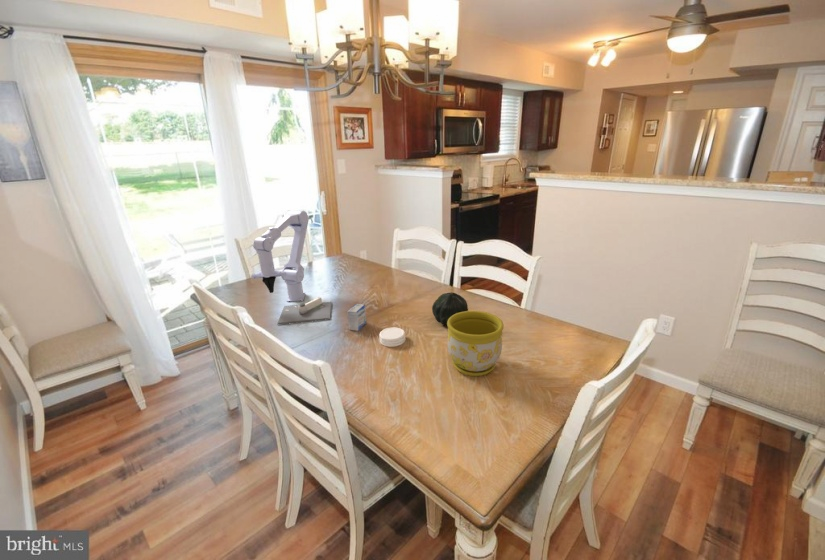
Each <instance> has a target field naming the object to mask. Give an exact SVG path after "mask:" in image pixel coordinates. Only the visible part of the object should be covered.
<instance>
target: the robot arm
mask: <svg viewBox="0 0 825 560" xmlns="http://www.w3.org/2000/svg"><path fill="white" fill-rule="evenodd" d="M309 219H310V217H309V215H308V213H307V212H306V211H305V210H287V211H285V212H284V213H283V217H282V218H281V219H280V221H279V222H278V223H277V224H276V225H275V226H272V227H270V226H269V228H268V230H267V231H265V233H263V234H261V236H260V237H256V238H255V239H254V241H253V245H252V247H253V249H254V250H255V252H256V254H257V256H258V260H259V267H260V272H257V273H252V274H251V275H250V277H251V280H254V279H262V282H263V284H264V285H265V286H266V287H267V289H268V292H269V294H273V293H274V289H275V288H274V287H275V283H276V282H275V281H276V279H277V277H281V279H282V281H284V283H285V284H286V290H287V296H288V297H287V299H286V302H289V301H290V302H298V301H299V302H300V300H301V301H304V300H305V295H306V292H304V289H303V280H304V278H305V271H304V270H305V268H304V266H303V265H302V264H301V261H302V257H303V251H304V245H305V241H306V235H307V230H308V229H307V228H308V226H309ZM288 227H290V228H291V229H293V230H294V234H293V240H292V245H291V249H290V254H289V261H288V262H287V263H285V264H284V265H283V269H282V270H276V269H275V264H274V258H273V252H272V250H273V248H274V245H275V243H276V242H277V241H278V239H279V238H281V237H282V233H283V231H284V230H286V229H287V228H288Z"/></svg>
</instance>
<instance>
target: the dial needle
mask: <svg viewBox="0 0 825 560" xmlns="http://www.w3.org/2000/svg"><path fill="white" fill-rule="evenodd" d="M322 302H323V300H322V297H320V296H319V297H317V298H315V299H312V300H310V301H309V302H306V303H300V304H297V305H298V311H299V314H306V313H307V312H308V310H310V309H312V308H314V307H316V306H318V305H320V304H322Z"/></svg>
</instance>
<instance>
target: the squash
mask: <svg viewBox="0 0 825 560" xmlns="http://www.w3.org/2000/svg"><path fill="white" fill-rule="evenodd" d="M431 311H432V315H433V316H434V318H435V320H436V322H438V323H441V324H443V325H445V324H446V325H447V321H448V319H449V318H450V317H451V316H452V315H454V314H456V313H459V312H464V311H469V308H468V301H466V299H465V298H464V297H463V296H462V295H460V294H457V293H455V292H447V293H442V294H441V295H439V296H438V298H436V299H435V300H434V302H433V304H432V306H431Z"/></svg>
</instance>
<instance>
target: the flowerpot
mask: <svg viewBox="0 0 825 560" xmlns="http://www.w3.org/2000/svg"><path fill="white" fill-rule="evenodd" d="M446 326H447V332H448V335H447V351H448V353H449V357H450V358H451V360H452V365H453V367H455V369H456V370H457V371H458V372H460V373H461V374H463V375H466V376H469V377H481V376H486V375H488V374H489V373H491V372H492V371H493V370H494V369H495V367H496V363H497V362H498V360H499V359H500V356H501V354H502V350H503V339H502V338H503V337H502V335H503V330H504V328H505V327H504V322H503V321H502V319H501V318H500V317H499V316H496V315H494V314H493V313H490V312H486V311H480V310H479V311H478V310H468V311H464V312H459V313H456V314H454V315H452V316H451V317H450V318H449V319H448V321H447V324H446Z"/></svg>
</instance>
